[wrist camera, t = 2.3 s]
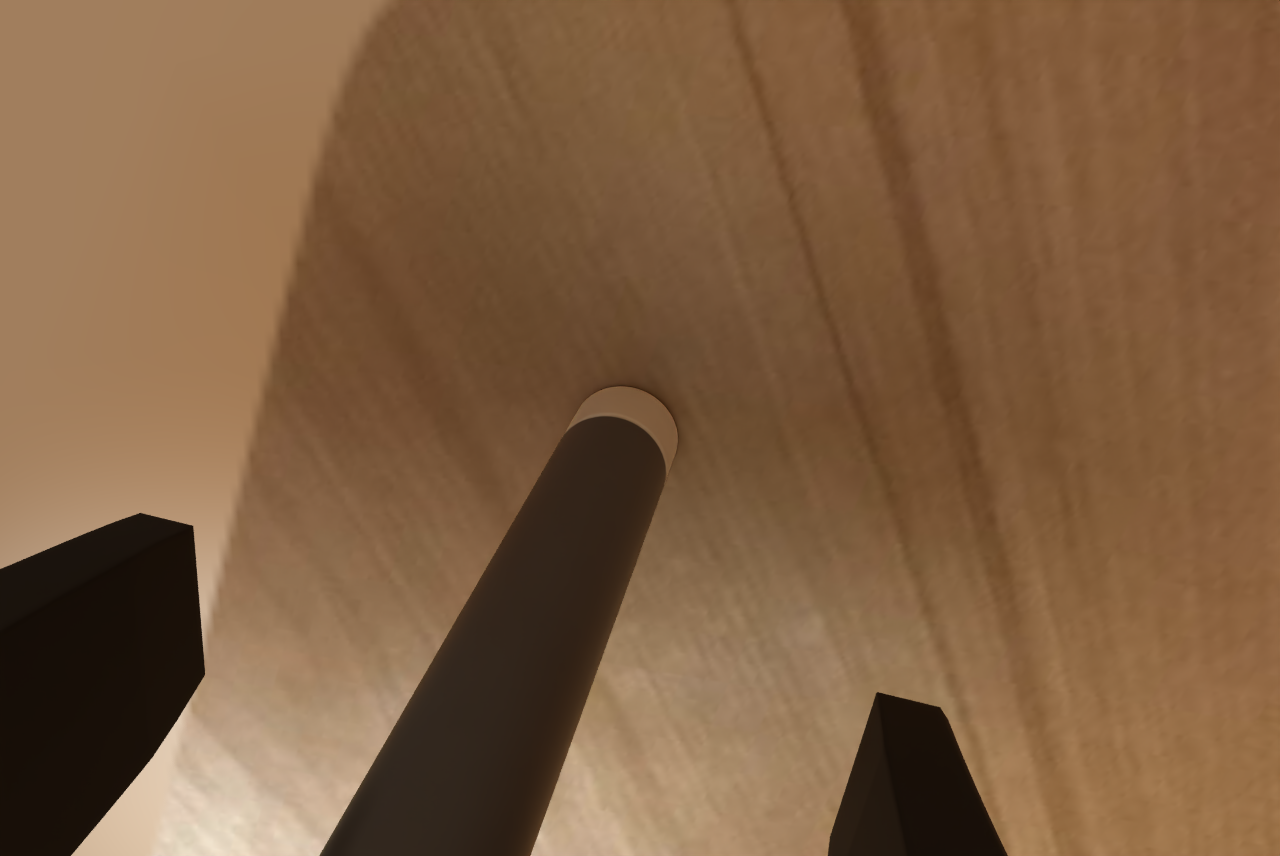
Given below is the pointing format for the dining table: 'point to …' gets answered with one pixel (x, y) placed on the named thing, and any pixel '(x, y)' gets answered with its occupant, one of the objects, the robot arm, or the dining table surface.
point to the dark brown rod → (520, 651)
